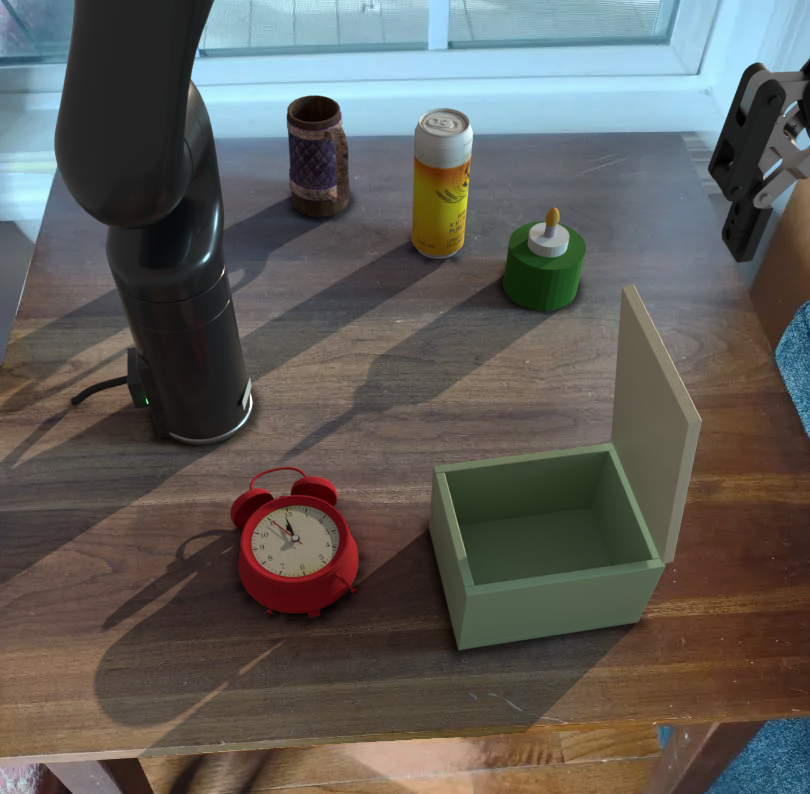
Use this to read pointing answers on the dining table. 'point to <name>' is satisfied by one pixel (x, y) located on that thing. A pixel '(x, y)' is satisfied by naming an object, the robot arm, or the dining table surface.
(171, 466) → the dining table surface
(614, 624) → the chest
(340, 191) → the mug
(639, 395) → the lid
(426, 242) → the beer can
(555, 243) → the candle
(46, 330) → the dining table surface
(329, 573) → the alarm clock
